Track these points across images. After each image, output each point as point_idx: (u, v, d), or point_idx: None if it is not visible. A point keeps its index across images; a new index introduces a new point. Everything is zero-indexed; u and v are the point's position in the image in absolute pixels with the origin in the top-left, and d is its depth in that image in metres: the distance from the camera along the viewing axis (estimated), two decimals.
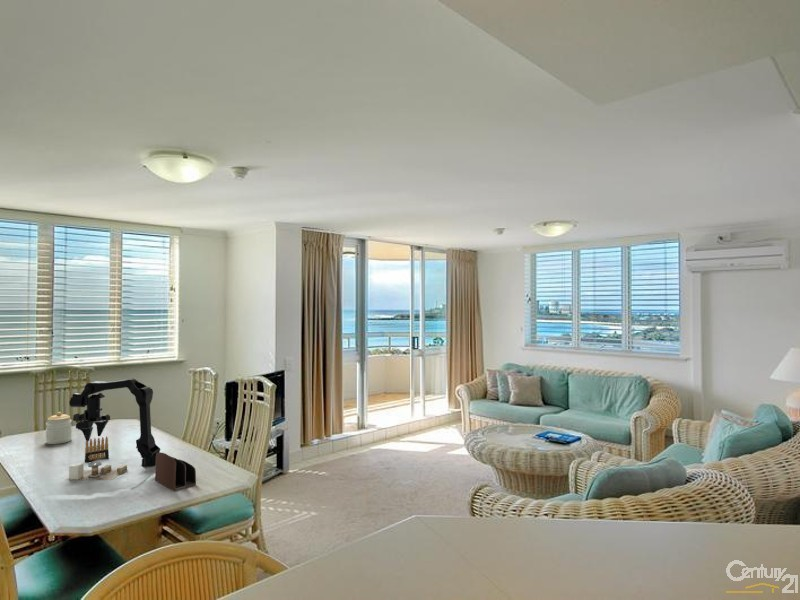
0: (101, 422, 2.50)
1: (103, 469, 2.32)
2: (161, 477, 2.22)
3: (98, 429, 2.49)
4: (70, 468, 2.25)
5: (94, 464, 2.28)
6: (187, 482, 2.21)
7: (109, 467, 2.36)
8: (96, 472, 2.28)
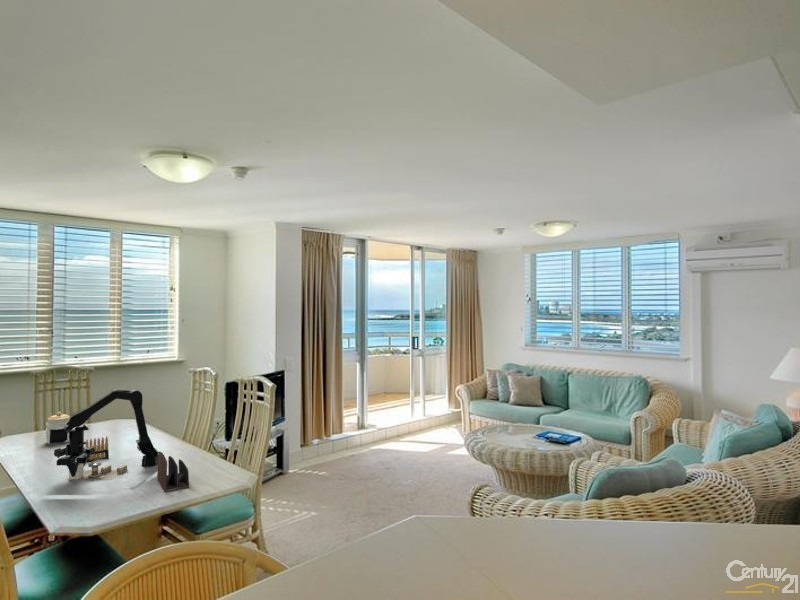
0: (82, 458, 2.29)
1: (103, 469, 2.32)
2: (159, 476, 2.23)
3: None
4: None
5: (94, 464, 2.28)
6: (181, 484, 2.19)
7: (109, 467, 2.36)
8: (96, 472, 2.28)
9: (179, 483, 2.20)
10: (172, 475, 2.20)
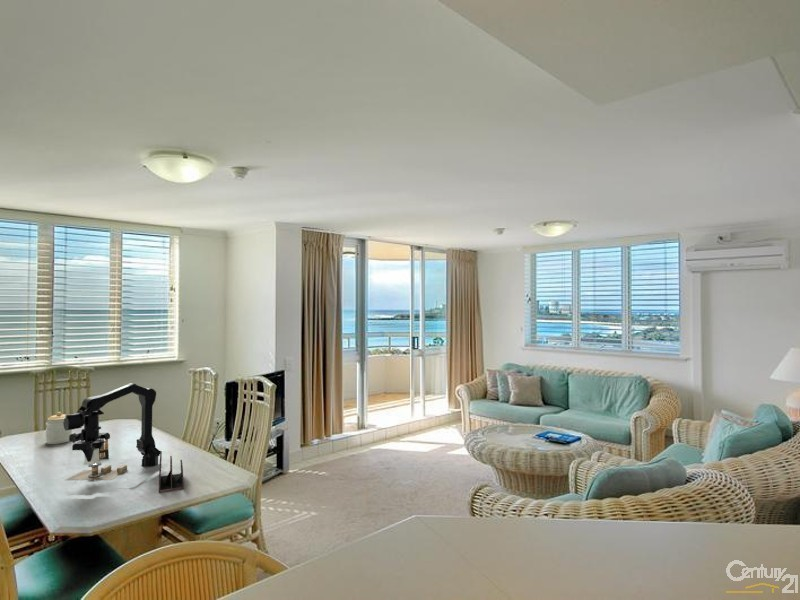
0: (97, 443, 2.26)
1: (103, 469, 2.32)
2: None
3: None
4: None
5: (94, 464, 2.28)
6: (177, 485, 2.18)
7: (109, 467, 2.36)
8: (96, 472, 2.28)
9: (175, 484, 2.19)
10: (169, 475, 2.19)
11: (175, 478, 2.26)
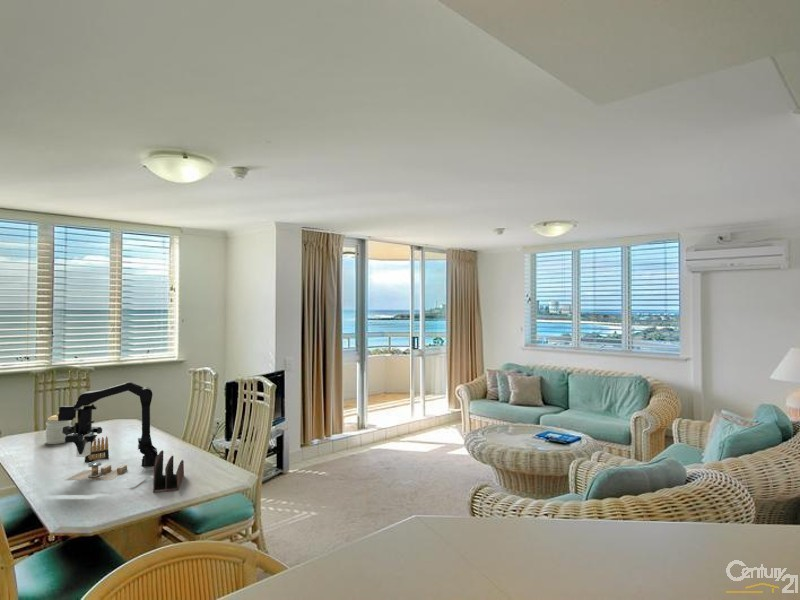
0: (89, 436, 2.34)
1: (103, 469, 2.32)
2: None
3: None
4: None
5: (94, 464, 2.28)
6: (173, 485, 2.17)
7: (109, 467, 2.36)
8: (96, 472, 2.28)
9: (172, 484, 2.18)
10: None
11: (174, 478, 2.26)
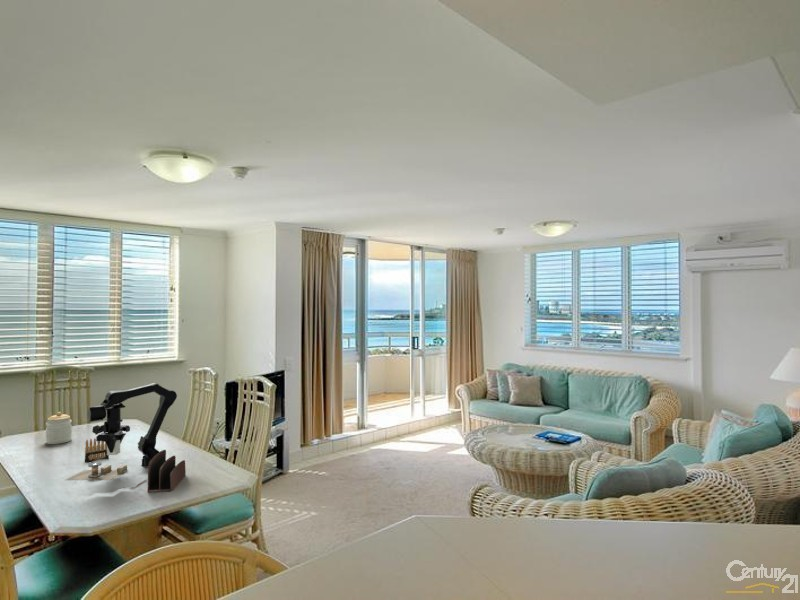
0: (118, 435, 2.36)
1: (103, 469, 2.32)
2: None
3: None
4: None
5: (94, 464, 2.28)
6: (168, 486, 2.16)
7: (109, 467, 2.36)
8: (96, 472, 2.28)
9: (167, 485, 2.17)
10: None
11: None
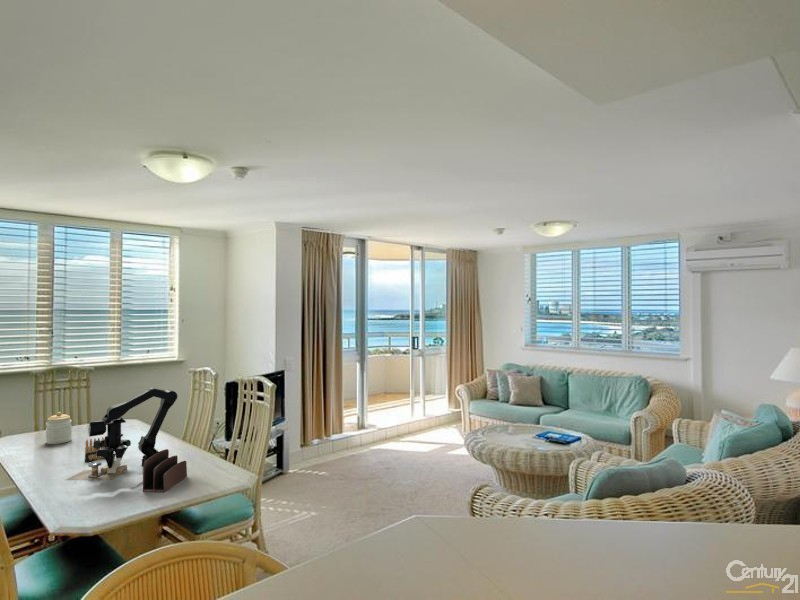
0: (120, 449, 2.38)
1: (103, 469, 2.32)
2: None
3: (117, 456, 2.38)
4: None
5: (94, 464, 2.28)
6: (163, 486, 2.16)
7: None
8: (96, 472, 2.28)
9: (163, 485, 2.17)
10: None
11: None
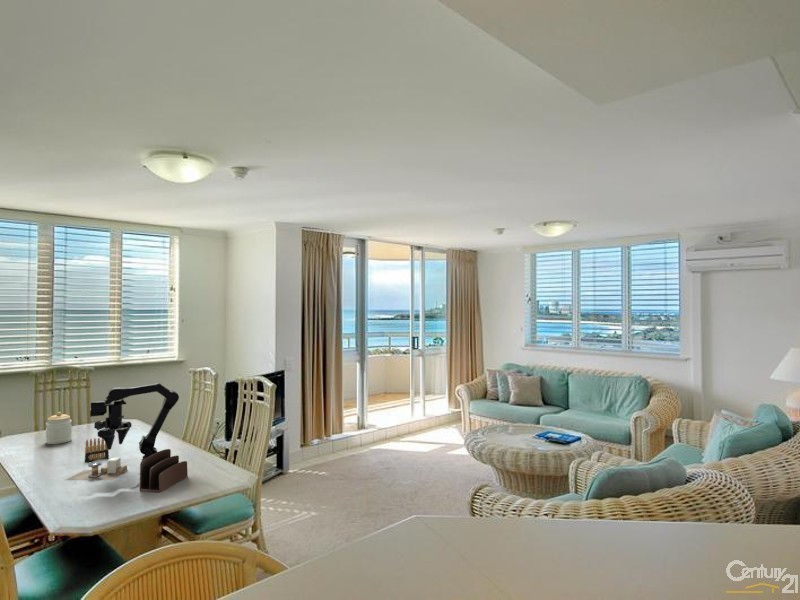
0: (122, 429, 2.42)
1: (103, 469, 2.32)
2: None
3: (119, 437, 2.41)
4: (108, 462, 2.33)
5: (94, 464, 2.28)
6: None
7: None
8: (96, 472, 2.28)
9: None
10: None
11: None
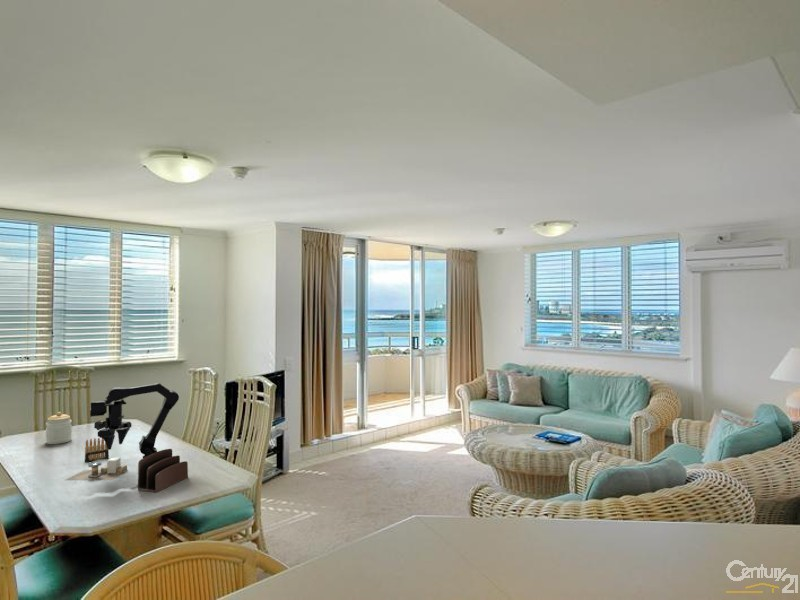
0: (122, 429, 2.42)
1: (103, 469, 2.32)
2: None
3: (119, 437, 2.41)
4: (108, 462, 2.33)
5: (94, 464, 2.28)
6: None
7: None
8: (96, 472, 2.28)
9: None
10: None
11: None
